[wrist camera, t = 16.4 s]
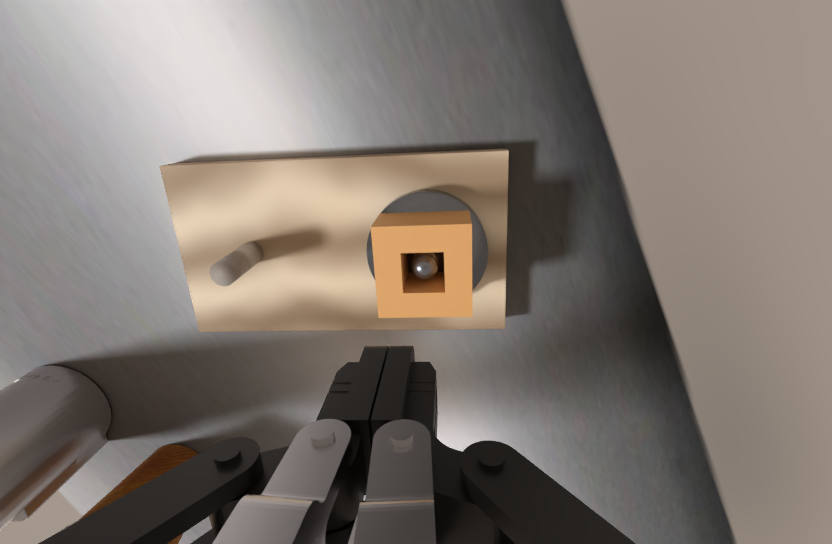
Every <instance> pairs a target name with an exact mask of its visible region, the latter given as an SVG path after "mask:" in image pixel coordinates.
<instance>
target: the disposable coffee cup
mask: <svg viewBox="0 0 832 544" xmlns="http://www.w3.org/2000/svg"><path fill="white" fill-rule="evenodd" d="M197 454H198V453H197V452H195V451H193V450H192V449H190V448H187V447H185V446H181V445H166V446H162V447H160V448H158V449H157V450H156V451H155V452H154V453H153V454H152V455H151V456H150V457H149V458H147V459H146V460H145V461H144V462H143V463H142V464H141V465H139V466H138V467H137V468H136V469H135V470H134V471H133V472H132V473H131V474H129V475H128V476H127V477H126V478H125V479H124V480H123V481H122V482H121V483H120V484H118V485H117V486H116V487H115V488H114V489H113V490H112V491H111V492H110V493H108V494H107V495H106V496H105V497H104V498H103V499H102V500H101V501H100V502H98V503H97V504H96V505H95V506H94V507H93V508H92V509H91V510H90V511H88V512H87V513H86V514H85V515H84V516H83V517H82V518H81V519H83V518H85V517H87V516H89V515H90V514H92V513H94V512H96V511H98V510H99V509H101V508H103V507H105V506H106V505H108V504H110V503H112V502H114V501H115V500H117V499H119V498H121V497H123V496H124V495H126V494H128V493H130V492H131V491H133V490H135V489H137V488H139V487H140V486H142V485H144V484H146V483H148V482H149V481H151V480H153V479H155V478H156V477H158V476H160V475H162V474H164V473H165V472H167V471H169V470H171V469H173V468H174V467H176V466H178V465H180V464H181V463H183V462H185V461H187V460H189V459H190V458H192V457H194V456H196V455H197ZM81 519H79V520H78V521H80V520H81ZM78 521H76V522H78ZM76 522H74V523H76ZM74 523H73V524H74ZM73 524H71V525H73ZM71 525H69V526H71ZM69 526H67V527H69ZM67 527H65V528H67ZM65 528H64V529H65ZM64 529H63V530H64ZM61 531H62V530H61ZM182 534H183V533H182ZM182 534H181V535H179V536H178V537H176V538H175V539H173V540H172V541H170V542H169V543H167V544H178V543H179V540H180V539H181V537H182Z"/></svg>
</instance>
